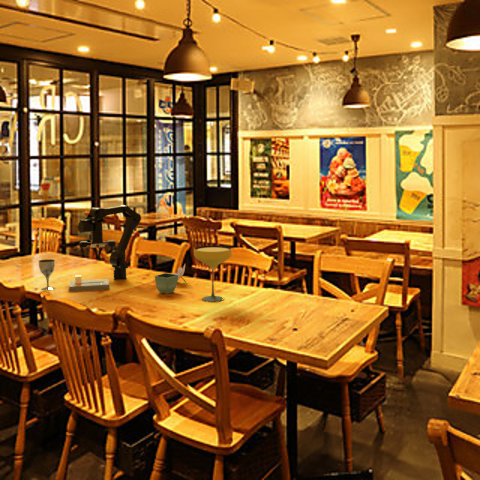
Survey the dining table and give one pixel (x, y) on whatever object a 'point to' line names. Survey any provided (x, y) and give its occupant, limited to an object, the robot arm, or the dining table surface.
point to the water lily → (180, 272)
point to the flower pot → (166, 282)
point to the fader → (78, 279)
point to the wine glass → (47, 270)
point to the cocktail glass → (212, 262)
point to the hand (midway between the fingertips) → (98, 259)
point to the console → (89, 285)
